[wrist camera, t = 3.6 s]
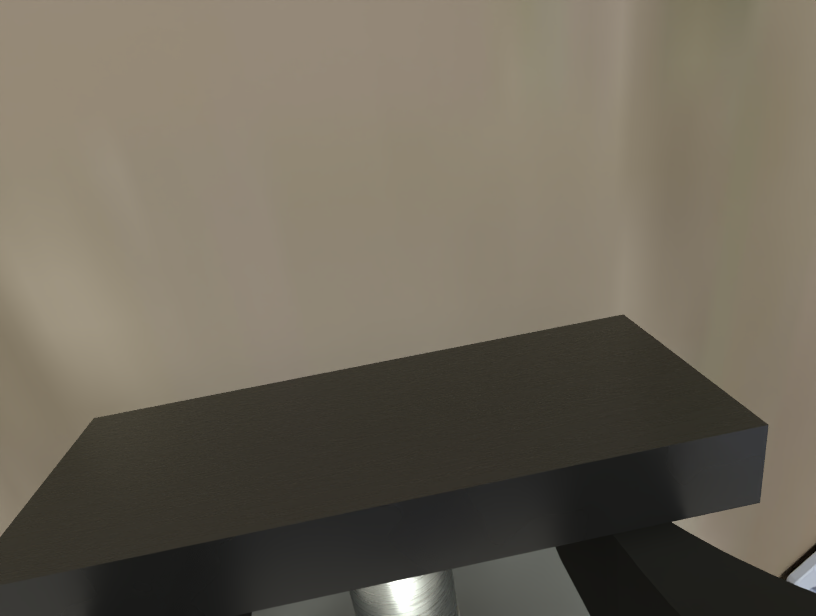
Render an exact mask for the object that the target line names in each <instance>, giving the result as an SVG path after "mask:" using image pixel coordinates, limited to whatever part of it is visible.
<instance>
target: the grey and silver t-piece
mask: <svg viewBox="0 0 816 616" xmlns="http://www.w3.org/2000/svg"><path fill="white" fill-rule="evenodd" d="M767 433H768V424H767V423H765V422H764V421H763V420H761V419H760V418H759V417H757V416H756V415H755V414H753V413H752V412H751V411H749V410H748V409H747V408H746V407H744V406H743V405H742V404H740V403H739V402H738V401H736V400H735V399H734V398H732V397H731V396H730V395H728V394H727V393H726V392H725V391H723V390H722V389H721V388H719V387H718V386H717V385H715V384H714V383H713V382H711V381H710V380H709V379H707V378H706V377H705V376H703V375H702V374H701V373H700V372H698V371H697V370H696V369H694V368H693V367H692V366H690V365H689V364H688V363H686V362H685V361H684V360H682V359H681V358H680V357H679V356H677V355H676V354H675V353H673V352H672V351H671V350H669V349H668V348H667V347H665V346H664V345H663V344H661V343H660V342H659V341H658V340H656V339H655V338H654V337H652V336H651V335H650V334H648V333H647V332H646V331H644V330H643V329H642V328H640V327H639V326H638V325H637V324H635V323H634V322H633V321H631V320H630V319H629V318H627V317H626V316H625V315H619V316H613V317H608V318H603V319H598V320H593V321H588V322H583V323H578V324H573V325H568V326H562V327H557V328H552V329H547V330H542V331H537V332H532V333H527V334H522V335H517V336H511V337H506V338H501V339H496V340H491V341H486V342H481V343H476V344H471V345H466V346H460V347H455V348H450V349H445V350H440V351H435V352H430V353H425V354H420V355H415V356H409V357H404V358H399V359H394V360H389V361H384V362H379V363H374V364H369V365H364V366H358V367H353V368H348V369H343V370H338V371H333V372H328V373H323V374H318V375H313V376H307V377H302V378H297V379H292V380H287V381H282V382H277V383H272V384H267V385H262V386H256V387H251V388H246V389H241V390H236V391H231V392H226V393H221V394H216V395H211V396H206V397H200V398H195V399H190V400H185V401H180V402H175V403H170V404H165V405H160V406H155V407H149V408H144V409H139V410H134V411H129V412H124V413H119V414H114V415H109V416H104V417H98V418H94V419H93V420H92V421H91V423H90V424H89V425H88V426H87V428H86V429H85V430H84V432H83V433H82V434H81V435H80V437H79V438H78V439H77V440H76V442H75V443H74V444H73V446H72V447H71V448H70V449H69V451H68V452H67V453H66V454H65V456H64V457H63V458H62V459H61V461H60V462H59V463H58V465H57V466H56V467H55V468H54V470H53V471H52V472H51V473H50V475H49V476H48V477H47V479H46V480H45V481H44V482H43V484H42V485H41V486H40V487H39V489H38V490H37V491H36V492H35V494H34V495H33V496H32V498H31V499H30V500H29V501H28V503H27V504H26V505H25V506H24V508H23V509H22V510H21V512H20V513H19V514H18V515H17V517H16V518H15V519H14V520H13V522H12V523H11V524H10V525H9V527H8V528H7V529H6V531H5V532H4V533H3V534H2V536H1V537H0V616H236V615H240V614H245V613H250V612H254V611H259V610H264V609H268V608H273V607H277V606H282V605H287V604H291V603H296V602H301V601H305V600H310V599H315V598H319V597H324V596H329V595H333V594H338V593H343V592H347V591H349V592H350V596H351V599H352V603H353V607H354V610H355V614H356V616H460V613H459V607H458V601H457V596H456V590H455V584H454V578H453V573H452V569H454V568H459V567H463V566H468V565H473V564H477V563H482V562H487V561H491V560H496V559H500V558H505V557H510V556H514V555H519V554H524V553H528V552H533V551H538V550H542V549H547V548H552V547H556V546H561V545H565V544H570V543H575V542H579V541H584V540H589V539H593V538H598V537H603V536H607V535H612V534H617V533H621V532H626V531H631V530H635V529H640V528H644V527H649V526H654V525H658V524H663V523H668V522H672V521H677V520H682V519H686V518H691V517H696V516H700V515H705V514H709V513H714V512H719V511H723V510H728V509H733V508H737V507H742V506H747V505H751V504H756V503H760V497H761V488H762V479H763V469H764V460H765V451H766V442H767Z"/></svg>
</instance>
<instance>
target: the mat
mask: <svg viewBox="0 0 816 616" xmlns="http://www.w3.org/2000/svg"><path fill="white" fill-rule="evenodd" d="M452 573H453V578H454V584H455V590H456V596H457V601H458V607H459V613H460V616H590V614H589V612H588V610H587V608H586V607H585V605H584V603H583V601H582V599H581V597H580V595H579V593H578V592H577V590H576V588H575V586H574V584H573V582H572V580H571V578H570V576H569V575H568V573H567V571H566V569H565V567H564V565H563V563H562V561H561V559H560V557H559V555H558V552H557V550H556V547H552V548H547V549H542V550H538V551H533V552H528V553H524V554H519V555H514V556H510V557H505V558H500V559H496V560H491V561H487V562H482V563H477V564H473V565H468V566H463V567H459V568H454V569H452ZM252 616H356V614H355V610H354V607H353V603H352V599H351V596H350V592H349V591H347V592H343V593H338V594H333V595H329V596H324V597H319V598H315V599H310V600H305V601H301V602H296V603H291V604H287V605H282V606H277V607H273V608H268V609H264V610H259V611H254V612H252Z"/></svg>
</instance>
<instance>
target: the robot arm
mask: <svg viewBox="0 0 816 616" xmlns="http://www.w3.org/2000/svg"><path fill="white" fill-rule="evenodd" d="M556 550H557V552H558V555H559V557H560V559H561V561H562V563H563V565H564V567H565V569H566V571H567V573H568V575H569V576H570V578H571V580H572V582H573V584H574V586H575V588H576V590H577V592H578V593H579V595H580V597H581V599H582V601H583V603H584V605H585V607H586V608H587V610H588V612H589V614H590V616H816V551H815V552H814V553H813V554H812V555H811V556H810V557H809V558H807V559H806V560H805V561H804V562H803V563H802V564H801V565H800V566H798V567H797V568H796V569H795V570H794V571H793V572H792V573H791V574H790V575H789V576H788V577H787V579H786V581H785V580H783V579H781V578H778V577H776V576H774V575H771V574H769V573H767V572H765V571H763V570H761V569H759V568H756V567H754V566H752V565H750V564H748V563H746V562H744V561H742V560H739V559H737V558H735V557H733V556H731V555H729V554H727V553H725V552H723V551H722V550H720V549H718V548H716V547H714V546H712V545H710V544H709V543H707V542H705V541H703V540H701V539H700V538H698V537H696V536H694V535H692V534H690V533H689V532H687V531H685V530H684V529H682V528H680V527H678V526H677V525H675V524H673V523H672V522H668V523H663V524H658V525H654V526H649V527H644V528H640V529H635V530H631V531H626V532H621V533H617V534H612V535H607V536H603V537H598V538H593V539H589V540H584V541H579V542H575V543H570V544H565V545H561V546H556ZM236 616H252V612H250V613H245V614H240V615H236Z"/></svg>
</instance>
